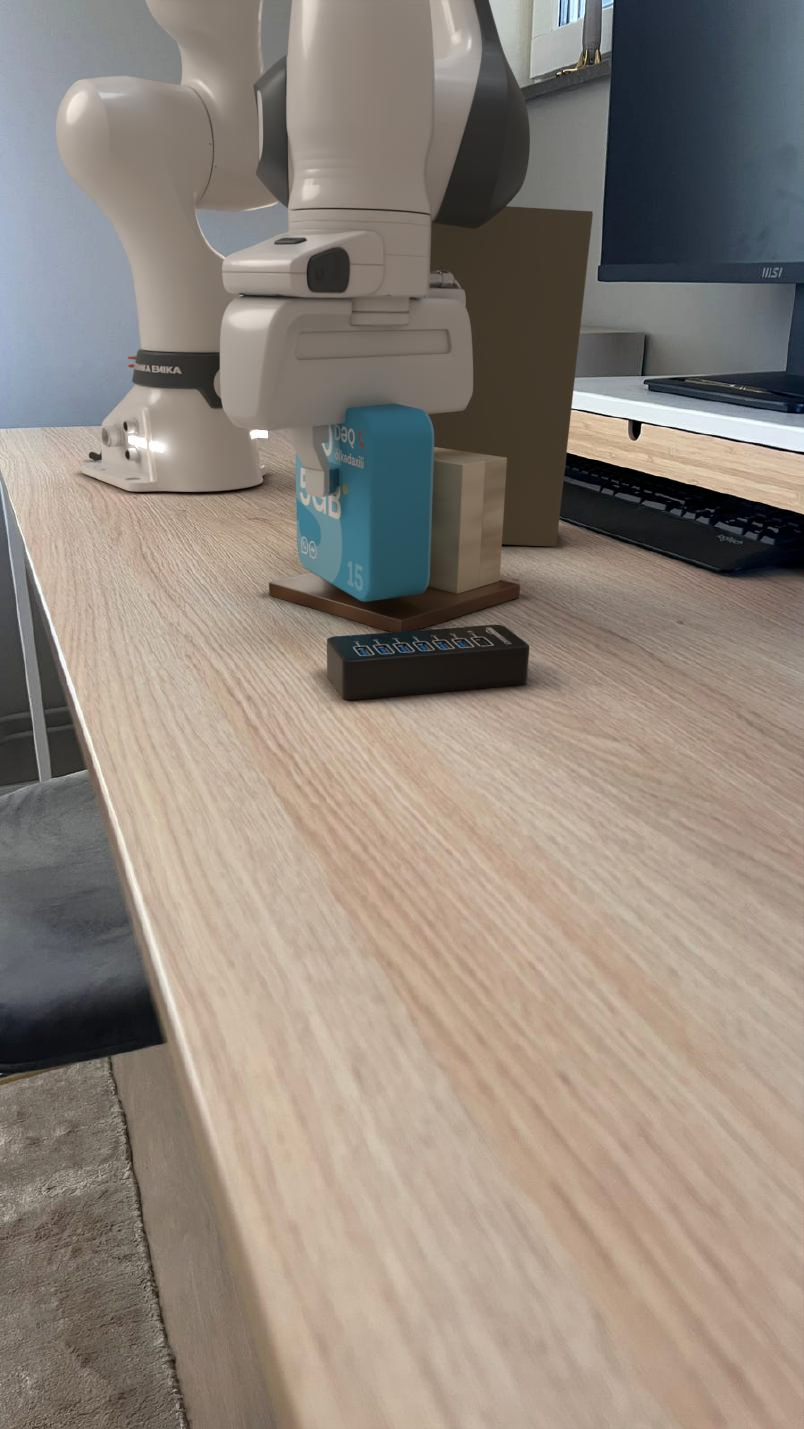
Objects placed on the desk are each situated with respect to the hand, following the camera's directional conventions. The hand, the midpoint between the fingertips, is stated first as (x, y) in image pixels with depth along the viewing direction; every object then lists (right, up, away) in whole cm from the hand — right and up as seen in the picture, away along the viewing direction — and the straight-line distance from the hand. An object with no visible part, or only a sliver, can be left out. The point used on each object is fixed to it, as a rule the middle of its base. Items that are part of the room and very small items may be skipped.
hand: (358, 489), depth 70 cm
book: (+7, +1, +25) cm, 26 cm away
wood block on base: (+2, -7, +6) cm, 9 cm away
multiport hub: (+4, -13, -10) cm, 17 cm away
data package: (0, -6, +2) cm, 7 cm away
